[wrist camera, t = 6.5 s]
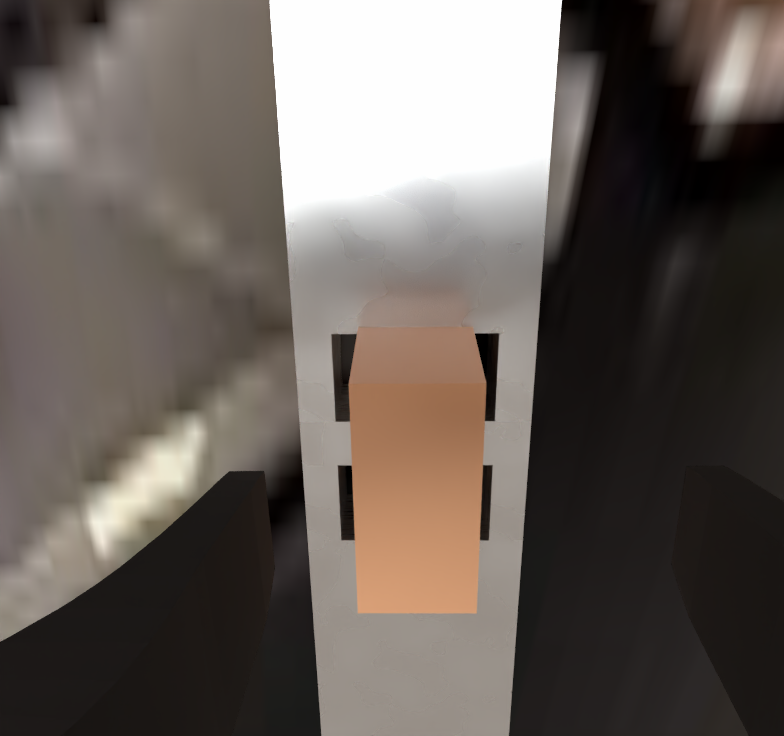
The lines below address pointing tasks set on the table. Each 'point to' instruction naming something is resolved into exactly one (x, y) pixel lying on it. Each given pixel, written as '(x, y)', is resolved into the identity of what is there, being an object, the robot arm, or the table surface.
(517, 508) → the rail
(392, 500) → the orange block
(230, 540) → the robot arm
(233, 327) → the table surface
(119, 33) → the table surface
